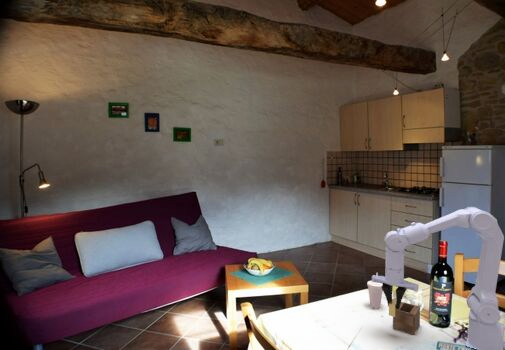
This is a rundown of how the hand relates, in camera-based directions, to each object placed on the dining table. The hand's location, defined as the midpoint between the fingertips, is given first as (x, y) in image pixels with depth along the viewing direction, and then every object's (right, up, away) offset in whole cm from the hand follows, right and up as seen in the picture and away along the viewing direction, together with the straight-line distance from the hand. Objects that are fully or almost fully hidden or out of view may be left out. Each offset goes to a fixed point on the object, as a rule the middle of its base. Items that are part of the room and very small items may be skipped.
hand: (394, 307), depth 113 cm
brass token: (0, -2, 0) cm, 2 cm away
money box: (+7, -10, +6) cm, 13 cm away
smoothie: (+2, -9, +22) cm, 24 cm away
